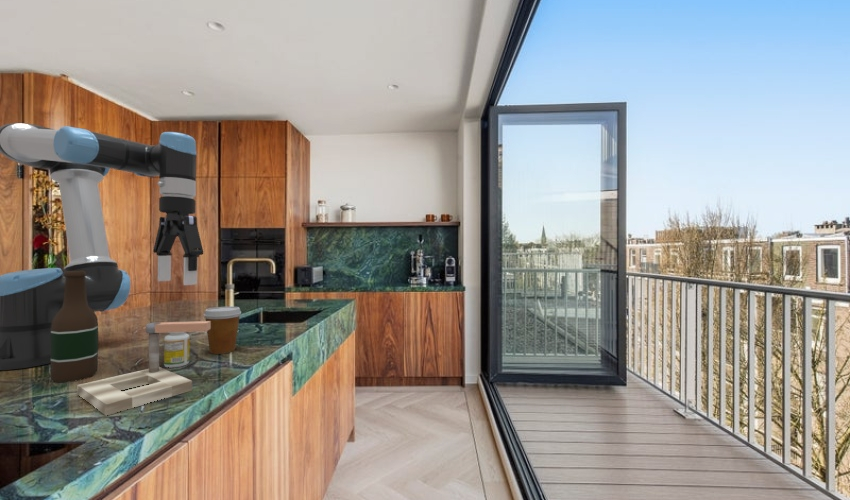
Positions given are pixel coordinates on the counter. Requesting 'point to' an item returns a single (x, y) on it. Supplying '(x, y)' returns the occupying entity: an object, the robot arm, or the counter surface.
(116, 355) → the counter surface
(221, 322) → the disposable coffee cup
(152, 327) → the bar
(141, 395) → the keeper board
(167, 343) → the supplement bottle
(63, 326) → the beer bottle
